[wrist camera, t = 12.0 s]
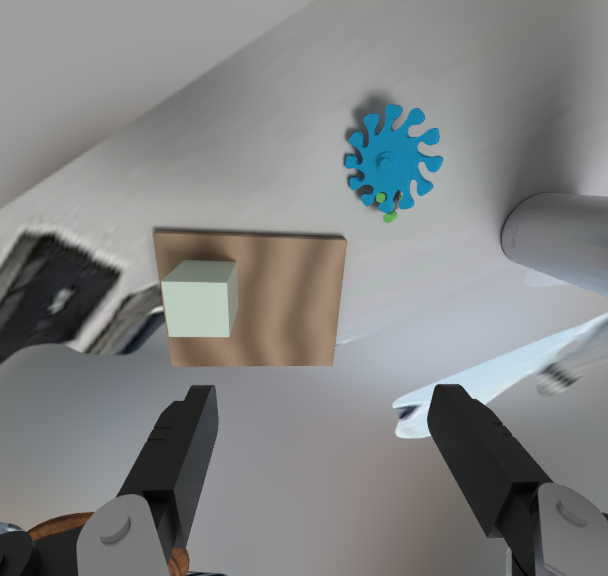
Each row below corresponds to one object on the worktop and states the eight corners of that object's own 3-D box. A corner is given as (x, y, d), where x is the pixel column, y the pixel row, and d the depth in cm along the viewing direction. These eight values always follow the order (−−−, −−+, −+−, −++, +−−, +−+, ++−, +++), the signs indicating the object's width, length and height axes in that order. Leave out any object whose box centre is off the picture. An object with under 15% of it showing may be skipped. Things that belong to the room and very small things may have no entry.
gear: (342, 108, 28) (448, 98, 23) (370, 107, 32) (468, 98, 26) (341, 217, 34) (426, 231, 28) (366, 205, 38) (445, 216, 32)
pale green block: (236, 261, 33) (226, 282, 27) (238, 307, 36) (229, 337, 29) (184, 260, 33) (161, 281, 26) (189, 306, 35) (168, 336, 29)
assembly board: (344, 237, 35) (355, 248, 30) (331, 359, 42) (338, 384, 37) (158, 230, 33) (136, 241, 28) (175, 359, 40) (160, 387, 34)
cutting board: (42, 491, 48) (30, 508, 45) (217, 538, 56) (214, 554, 54) (-6, 587, 56) (-18, 605, 54) (152, 614, 65) (147, 631, 63)
